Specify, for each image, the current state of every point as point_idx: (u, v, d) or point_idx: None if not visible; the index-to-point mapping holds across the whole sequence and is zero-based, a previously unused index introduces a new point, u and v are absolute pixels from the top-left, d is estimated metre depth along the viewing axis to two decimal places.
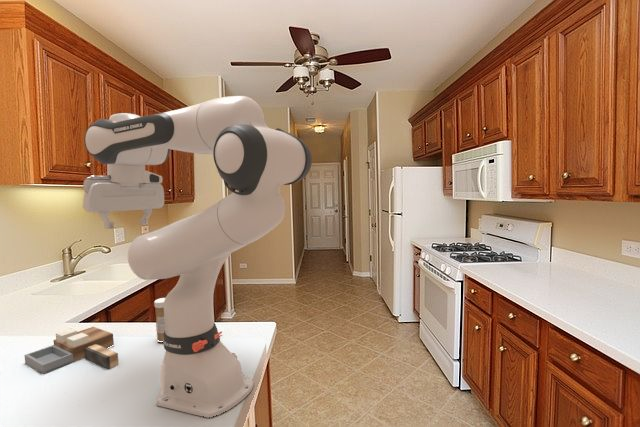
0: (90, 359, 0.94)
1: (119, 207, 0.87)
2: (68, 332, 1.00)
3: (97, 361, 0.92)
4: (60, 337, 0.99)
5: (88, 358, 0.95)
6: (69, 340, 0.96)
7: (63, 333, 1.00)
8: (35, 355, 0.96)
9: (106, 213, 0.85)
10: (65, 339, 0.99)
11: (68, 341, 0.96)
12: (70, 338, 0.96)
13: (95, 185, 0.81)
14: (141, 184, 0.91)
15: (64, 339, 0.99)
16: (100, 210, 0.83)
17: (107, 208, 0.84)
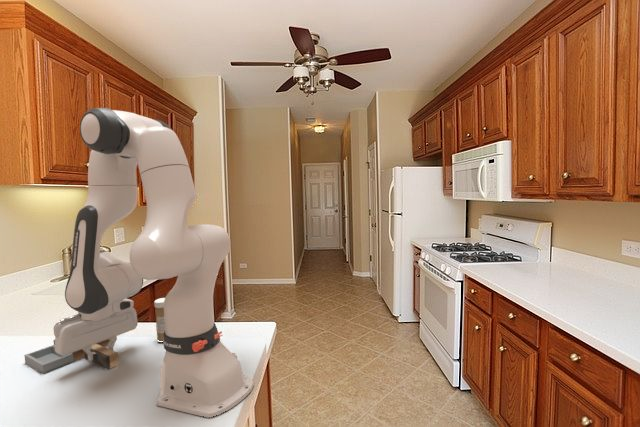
0: None
1: (91, 342, 0.90)
2: None
3: (97, 361, 0.92)
4: None
5: None
6: None
7: None
8: (35, 355, 0.96)
9: (88, 347, 0.90)
10: None
11: None
12: None
13: (65, 329, 0.85)
14: (112, 313, 0.95)
15: None
16: (71, 351, 0.86)
17: (78, 347, 0.88)
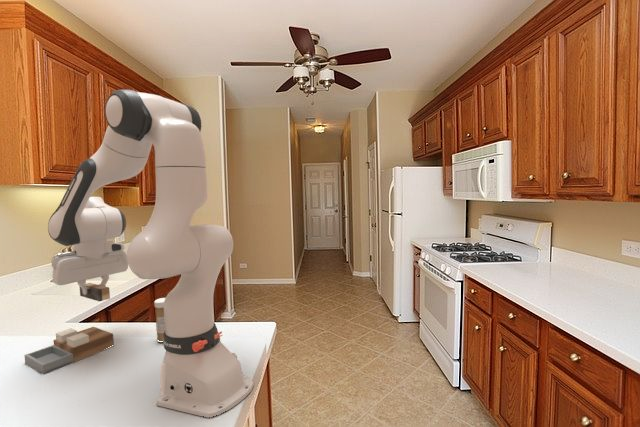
0: None
1: (85, 277, 1.00)
2: (68, 332, 1.00)
3: (90, 295, 1.02)
4: (60, 337, 0.99)
5: None
6: (69, 340, 0.96)
7: (63, 333, 1.00)
8: (35, 355, 0.96)
9: (83, 281, 1.01)
10: (65, 339, 0.99)
11: (68, 341, 0.96)
12: (70, 338, 0.96)
13: (62, 261, 0.95)
14: (105, 254, 1.05)
15: (64, 339, 0.99)
16: (67, 282, 0.96)
17: (74, 279, 0.98)
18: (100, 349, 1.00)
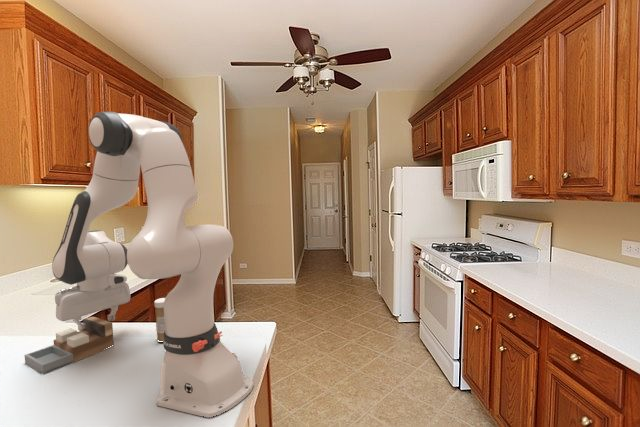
0: (87, 329, 1.05)
1: (88, 311, 1.01)
2: (68, 332, 1.00)
3: (94, 330, 1.03)
4: (60, 337, 0.99)
5: (86, 328, 1.06)
6: (69, 340, 0.96)
7: (63, 333, 1.00)
8: (35, 355, 0.96)
9: (78, 318, 1.00)
10: (65, 339, 0.99)
11: (68, 341, 0.96)
12: (70, 338, 0.96)
13: (65, 298, 0.96)
14: (107, 287, 1.06)
15: (64, 339, 0.99)
16: (71, 318, 0.97)
17: (77, 315, 0.99)
18: (100, 349, 1.00)
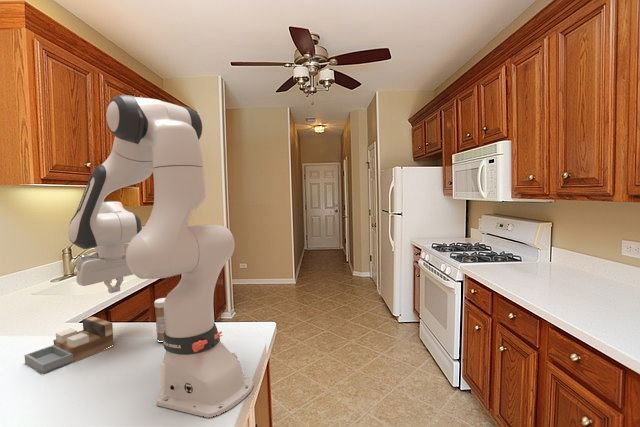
0: (87, 329, 1.05)
1: (106, 278, 1.06)
2: (68, 332, 1.00)
3: (94, 330, 1.03)
4: (60, 337, 0.99)
5: (86, 328, 1.06)
6: (69, 340, 0.96)
7: (63, 333, 1.00)
8: (35, 355, 0.96)
9: (109, 281, 1.07)
10: (65, 339, 0.99)
11: (68, 341, 0.96)
12: (70, 338, 0.96)
13: (85, 263, 1.01)
14: (124, 256, 1.10)
15: (64, 339, 0.99)
16: (90, 283, 1.02)
17: (96, 280, 1.03)
18: (100, 349, 1.00)
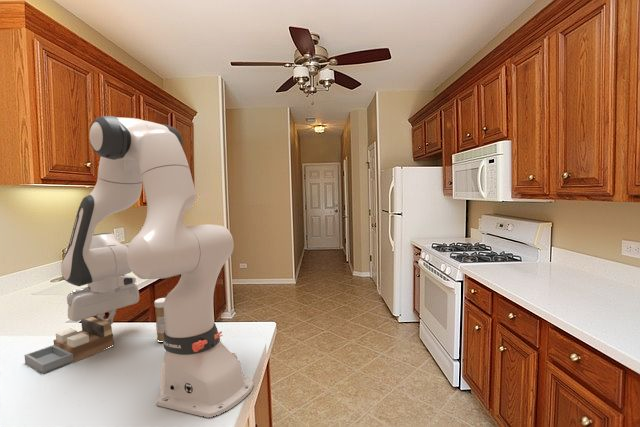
0: (86, 329, 1.05)
1: (98, 311, 1.04)
2: (68, 332, 1.00)
3: (92, 331, 1.03)
4: (60, 337, 0.99)
5: (85, 328, 1.06)
6: (69, 340, 0.96)
7: (63, 333, 1.00)
8: (35, 355, 0.96)
9: (102, 314, 1.05)
10: (65, 339, 0.99)
11: (68, 341, 0.96)
12: (70, 338, 0.96)
13: (76, 299, 0.99)
14: (117, 288, 1.08)
15: (64, 339, 0.99)
16: (82, 318, 1.00)
17: (88, 315, 1.01)
18: (100, 349, 1.00)
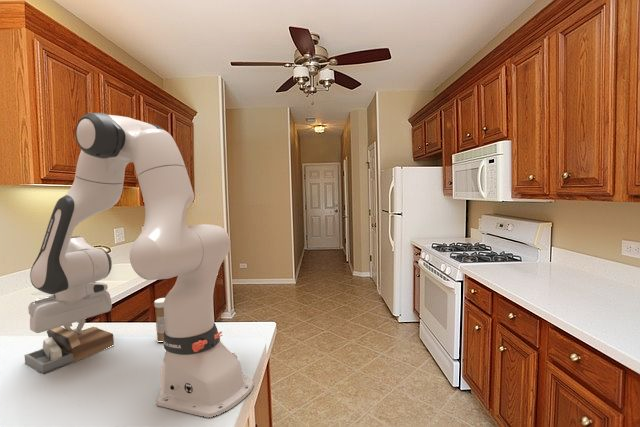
0: None
1: (65, 322, 0.96)
2: (47, 351, 0.95)
3: (59, 343, 0.96)
4: None
5: None
6: None
7: (46, 352, 0.96)
8: (35, 355, 0.96)
9: (69, 324, 0.98)
10: None
11: None
12: None
13: (39, 308, 0.91)
14: (86, 295, 1.01)
15: None
16: (45, 329, 0.92)
17: (52, 326, 0.94)
18: (100, 349, 1.00)
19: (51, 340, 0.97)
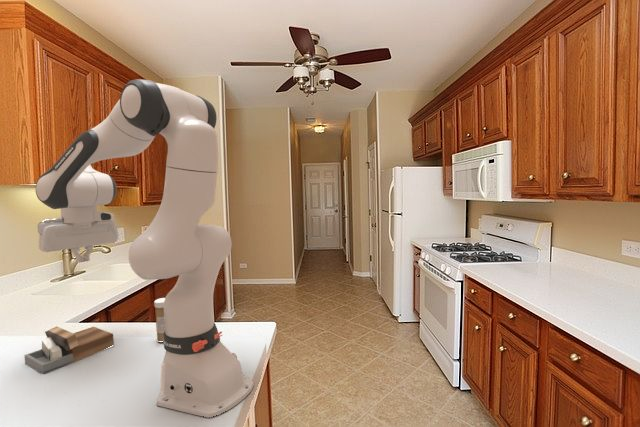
0: None
1: (73, 245, 0.98)
2: (46, 351, 0.95)
3: (58, 343, 0.95)
4: None
5: None
6: None
7: (45, 352, 0.96)
8: (35, 355, 0.96)
9: (76, 249, 0.99)
10: None
11: None
12: None
13: (48, 227, 0.92)
14: (93, 222, 1.02)
15: None
16: (54, 249, 0.94)
17: (61, 247, 0.95)
18: (100, 349, 1.00)
19: (49, 340, 0.96)
